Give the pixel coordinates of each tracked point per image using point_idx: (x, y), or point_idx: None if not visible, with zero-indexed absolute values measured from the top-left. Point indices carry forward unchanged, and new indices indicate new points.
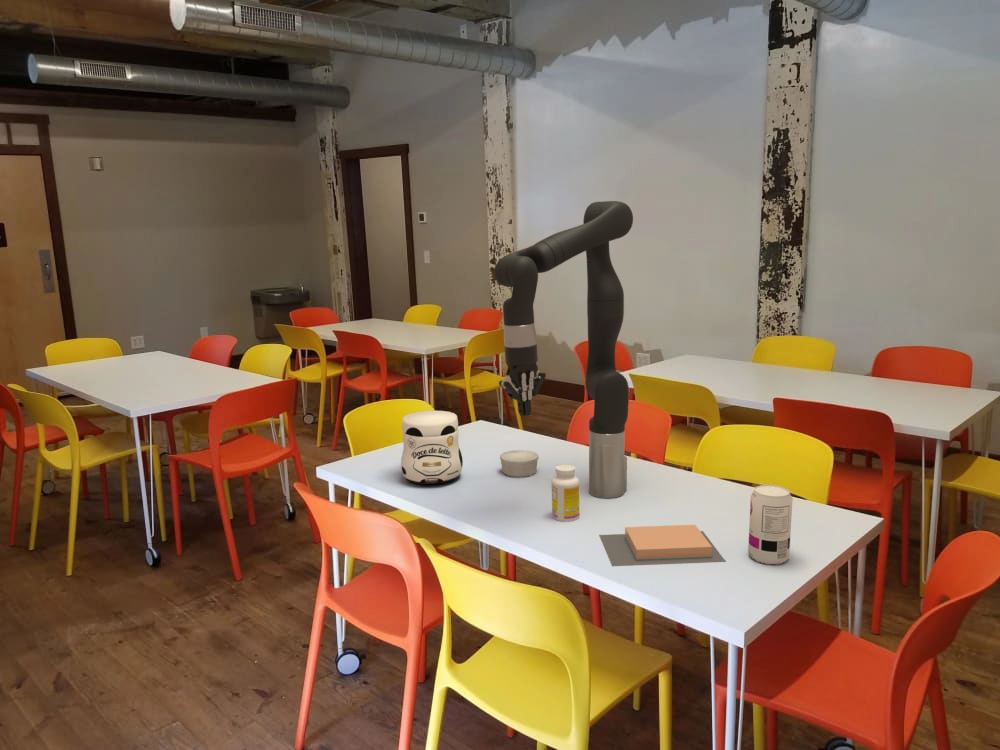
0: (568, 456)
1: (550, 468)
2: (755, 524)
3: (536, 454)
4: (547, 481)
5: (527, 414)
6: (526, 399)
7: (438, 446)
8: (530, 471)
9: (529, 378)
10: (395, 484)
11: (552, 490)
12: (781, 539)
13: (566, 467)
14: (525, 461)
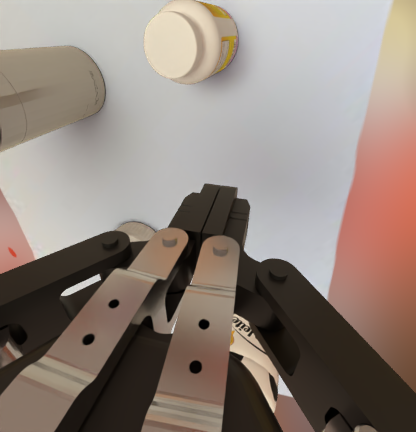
0: (56, 227)
1: (98, 218)
2: None
3: None
4: (129, 190)
5: (224, 186)
6: (193, 246)
7: (251, 340)
8: (134, 224)
9: (90, 384)
10: None
11: (220, 61)
12: None
13: (165, 46)
14: (135, 237)
